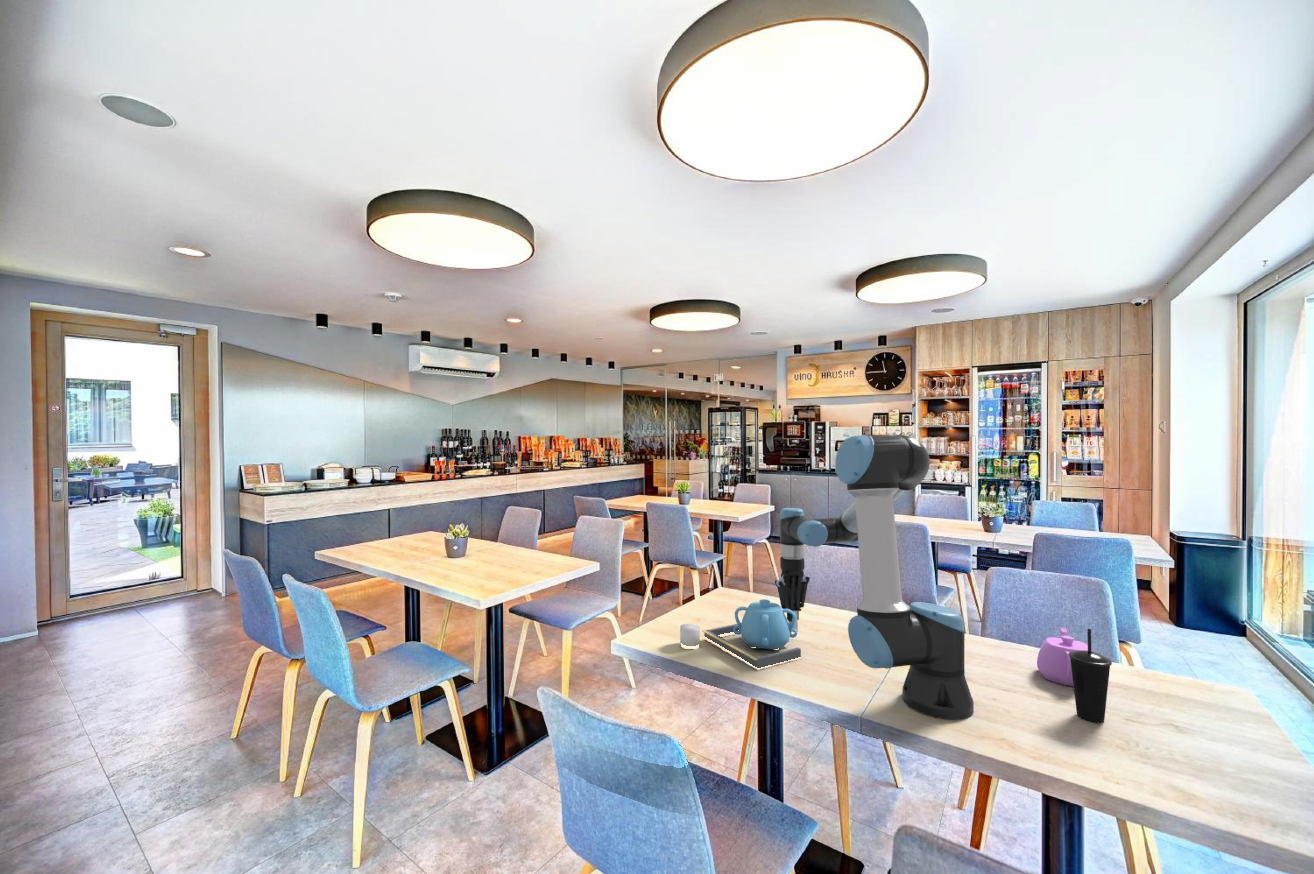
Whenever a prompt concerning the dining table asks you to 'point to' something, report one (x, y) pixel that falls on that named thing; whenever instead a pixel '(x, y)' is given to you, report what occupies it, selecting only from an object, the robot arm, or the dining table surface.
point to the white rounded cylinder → (690, 634)
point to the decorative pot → (765, 625)
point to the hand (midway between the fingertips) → (793, 630)
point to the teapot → (1058, 658)
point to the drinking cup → (1090, 682)
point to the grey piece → (744, 654)
